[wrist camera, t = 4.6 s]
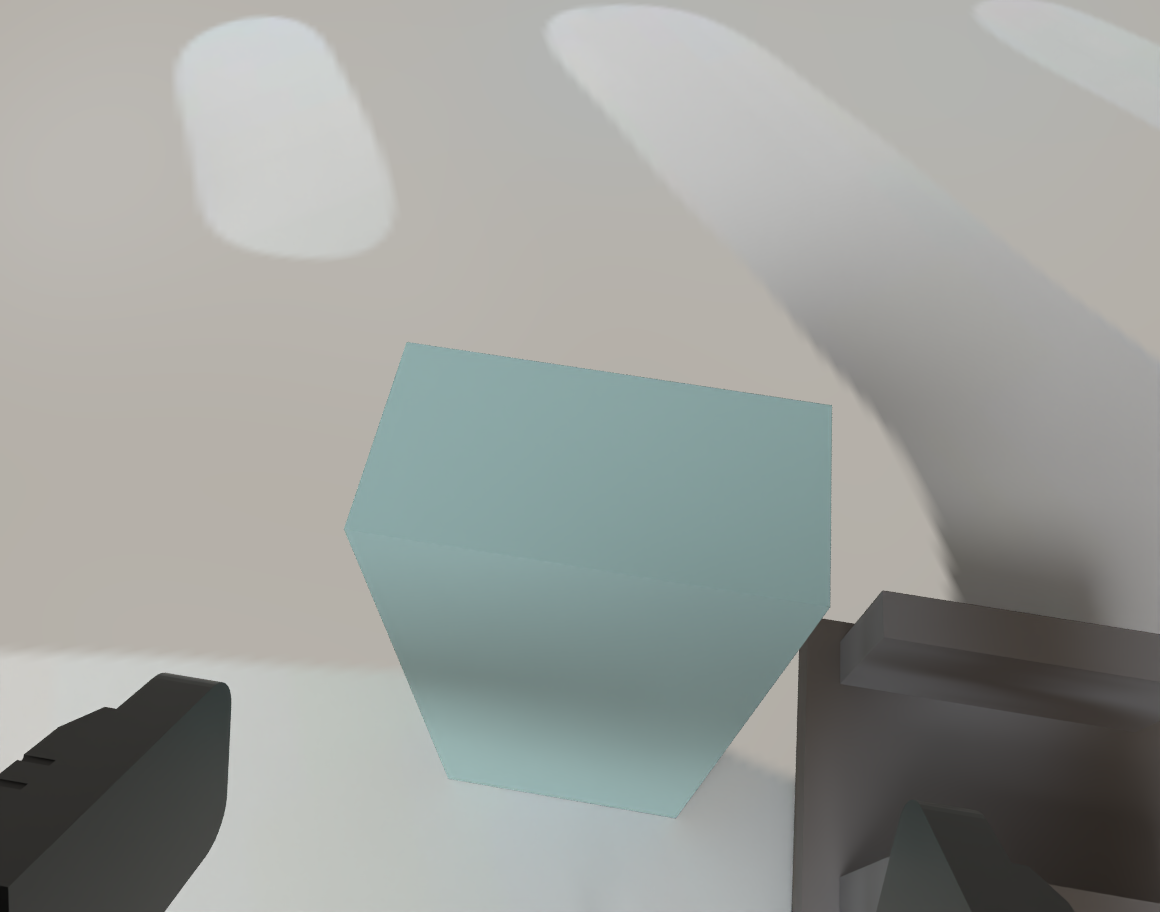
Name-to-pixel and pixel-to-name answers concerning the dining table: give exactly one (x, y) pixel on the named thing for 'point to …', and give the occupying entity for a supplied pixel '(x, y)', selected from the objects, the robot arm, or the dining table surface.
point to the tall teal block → (590, 567)
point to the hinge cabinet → (979, 747)
